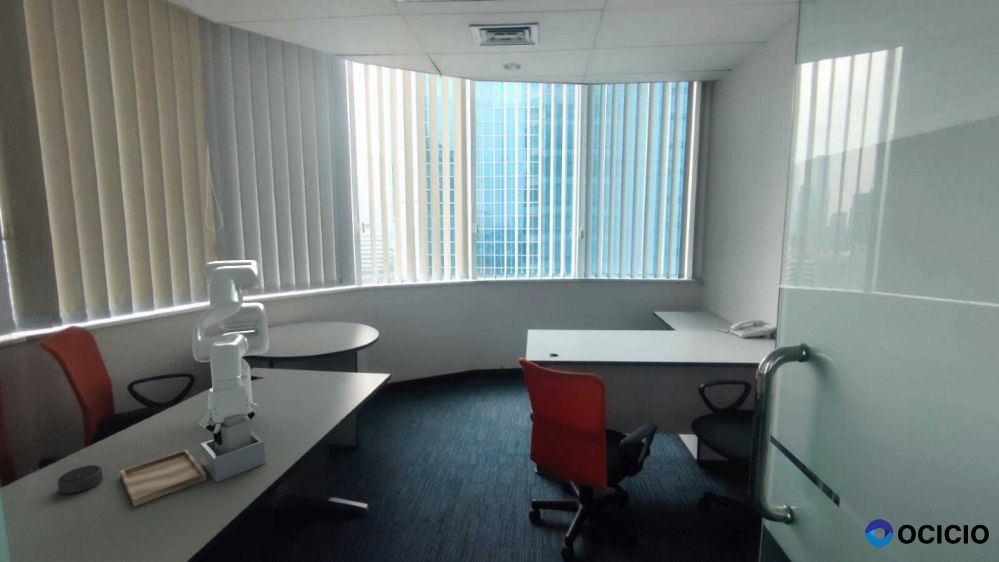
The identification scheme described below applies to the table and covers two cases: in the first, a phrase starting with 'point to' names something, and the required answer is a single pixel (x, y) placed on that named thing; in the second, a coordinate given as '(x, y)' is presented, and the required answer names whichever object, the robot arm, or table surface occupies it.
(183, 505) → the table surface
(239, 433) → the perfume bottle
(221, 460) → the grey storage bin
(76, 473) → the smart speaker
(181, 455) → the tray
